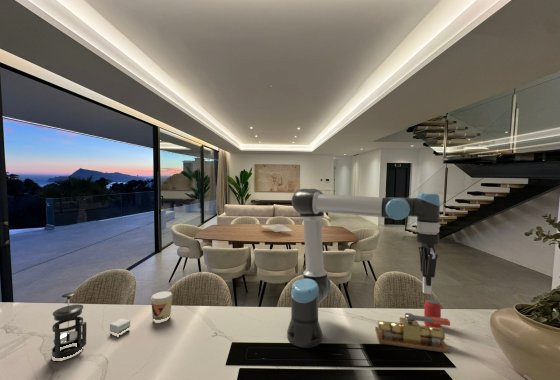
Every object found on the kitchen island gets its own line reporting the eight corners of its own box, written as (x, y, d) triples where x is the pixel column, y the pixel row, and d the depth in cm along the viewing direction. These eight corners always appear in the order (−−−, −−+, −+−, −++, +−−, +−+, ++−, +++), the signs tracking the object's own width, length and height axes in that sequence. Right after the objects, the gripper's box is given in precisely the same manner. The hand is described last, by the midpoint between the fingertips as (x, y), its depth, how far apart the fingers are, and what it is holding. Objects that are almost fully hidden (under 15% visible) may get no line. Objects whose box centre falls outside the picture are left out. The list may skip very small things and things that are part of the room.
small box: (117, 338, 104) (118, 326, 104) (109, 334, 106) (109, 323, 106) (130, 331, 109) (130, 320, 109) (122, 328, 111) (122, 317, 111)
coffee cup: (146, 323, 115) (146, 298, 115) (159, 313, 124) (159, 290, 125) (164, 325, 114) (164, 299, 114) (175, 315, 123) (176, 291, 123)
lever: (406, 320, 102) (406, 316, 102) (404, 316, 106) (404, 312, 106) (450, 326, 98) (450, 322, 98) (447, 322, 102) (447, 318, 102)
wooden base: (379, 343, 102) (379, 321, 102) (375, 330, 111) (375, 310, 111) (449, 353, 96) (449, 330, 96) (438, 338, 106) (438, 317, 106)
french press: (42, 362, 89) (42, 299, 89) (64, 345, 98) (65, 288, 98) (74, 362, 89) (74, 299, 89) (93, 346, 98) (94, 289, 98)
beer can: (443, 330, 111) (443, 304, 111) (427, 329, 113) (427, 303, 113) (437, 323, 118) (437, 298, 118) (422, 321, 119) (422, 297, 119)
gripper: (446, 236, 88) (445, 301, 88) (432, 230, 101) (431, 287, 101) (423, 235, 90) (422, 298, 90) (412, 229, 102) (411, 285, 102)
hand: (427, 292), depth 95 cm, fingers closed
